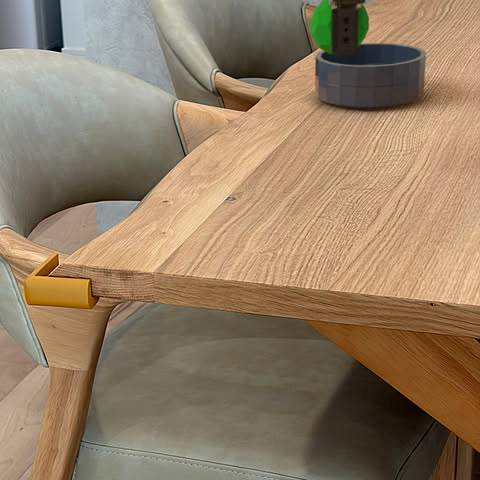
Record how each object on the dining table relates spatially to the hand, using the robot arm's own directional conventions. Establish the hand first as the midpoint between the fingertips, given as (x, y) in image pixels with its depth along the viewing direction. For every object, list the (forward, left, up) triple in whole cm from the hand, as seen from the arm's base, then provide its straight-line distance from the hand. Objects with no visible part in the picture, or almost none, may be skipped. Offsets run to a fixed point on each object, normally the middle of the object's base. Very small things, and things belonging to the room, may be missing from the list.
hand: (339, 47), depth 80 cm
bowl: (+14, -22, -11) cm, 28 cm away
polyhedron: (0, 0, -1) cm, 1 cm away
